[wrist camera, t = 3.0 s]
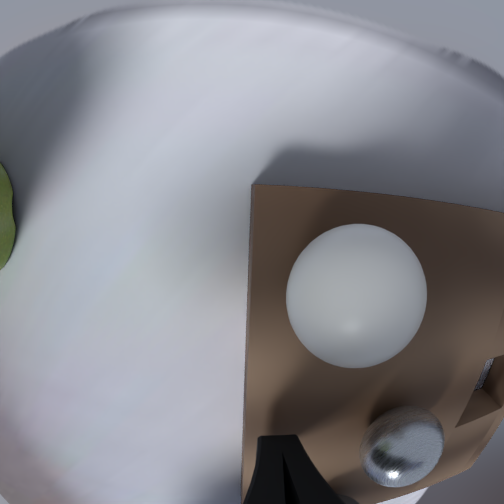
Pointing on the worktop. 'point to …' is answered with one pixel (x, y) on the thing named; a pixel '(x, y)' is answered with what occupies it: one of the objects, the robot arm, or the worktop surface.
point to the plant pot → (5, 218)
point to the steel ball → (401, 446)
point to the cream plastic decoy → (356, 296)
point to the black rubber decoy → (348, 499)
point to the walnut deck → (394, 369)
